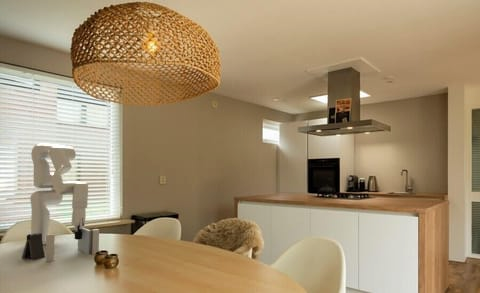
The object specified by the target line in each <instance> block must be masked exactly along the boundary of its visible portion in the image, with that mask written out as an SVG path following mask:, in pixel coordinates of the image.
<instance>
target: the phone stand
mask: <svg viewBox="0 0 480 293" xmlns="http://www.w3.org/2000/svg"><path fill="white" fill-rule="evenodd" d="M21 258H22V259H23V260H28V261H35V260H39V259H43V258H46V253H45V250H44V245H43V243H42V233H34V234H31V233H30V234H27V235H26V242H25V244H24V249H23V252H22V256H21Z"/></svg>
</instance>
